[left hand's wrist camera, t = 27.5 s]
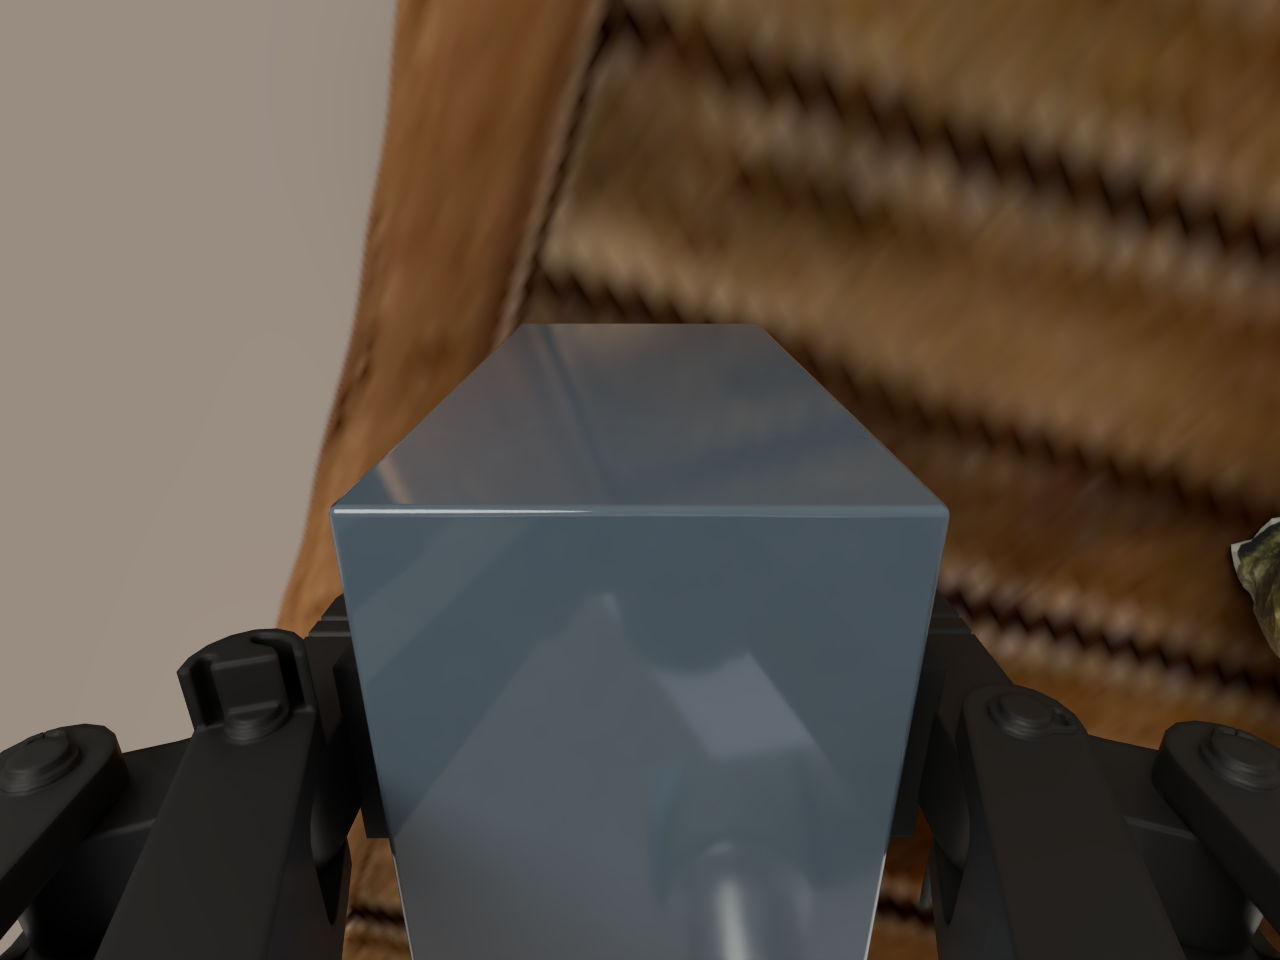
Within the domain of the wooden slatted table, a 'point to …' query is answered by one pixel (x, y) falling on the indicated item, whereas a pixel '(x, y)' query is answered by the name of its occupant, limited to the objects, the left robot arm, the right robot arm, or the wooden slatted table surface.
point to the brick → (639, 650)
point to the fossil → (1262, 578)
